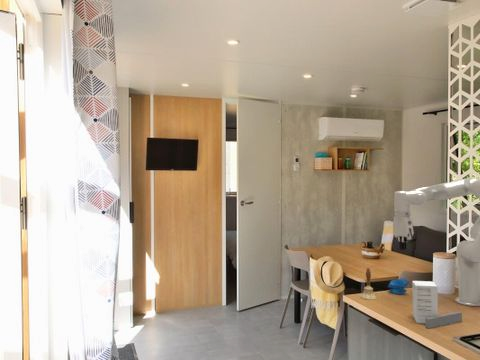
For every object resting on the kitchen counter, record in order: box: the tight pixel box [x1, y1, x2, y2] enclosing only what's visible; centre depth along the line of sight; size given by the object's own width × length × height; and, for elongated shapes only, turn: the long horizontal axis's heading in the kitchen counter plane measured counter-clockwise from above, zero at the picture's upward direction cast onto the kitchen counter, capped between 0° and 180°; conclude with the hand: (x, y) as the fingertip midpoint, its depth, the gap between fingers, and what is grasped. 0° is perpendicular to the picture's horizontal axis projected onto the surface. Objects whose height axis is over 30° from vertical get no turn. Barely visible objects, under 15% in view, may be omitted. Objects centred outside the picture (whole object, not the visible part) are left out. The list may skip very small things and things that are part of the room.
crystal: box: [387, 277, 410, 295], centre depth 222 cm, size 7×9×12 cm
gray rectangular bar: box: [425, 311, 463, 329], centre depth 175 cm, size 20×2×4 cm, turn 112°
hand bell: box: [360, 267, 377, 301], centre depth 215 cm, size 8×8×16 cm
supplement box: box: [411, 280, 439, 325], centre depth 180 cm, size 10×9×17 cm
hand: (402, 249), depth 208 cm, fingers closed
